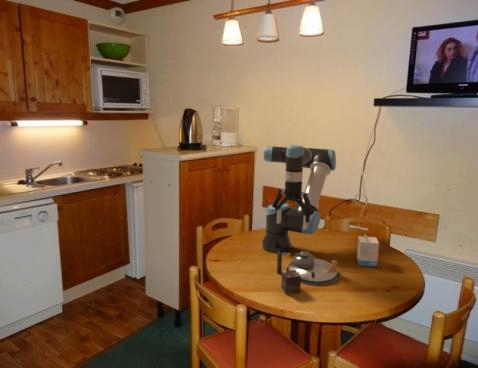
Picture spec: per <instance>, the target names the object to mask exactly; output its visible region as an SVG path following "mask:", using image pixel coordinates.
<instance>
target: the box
mask: <svg viewBox="0 0 478 368" xmlns="http://www.w3.org/2000/svg"><path fill="white" fill-rule="evenodd" d="M280 283H281V290H282V291H283V293H284V294H285V295H286V296H287V295H295V294H301V286H302V283H301V276H300V275H299V274H298V272H297V271H296V270H289V271H286V270H281V282H280Z"/></svg>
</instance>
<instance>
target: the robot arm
mask: <svg viewBox="0 0 478 368" xmlns="http://www.w3.org/2000/svg"><path fill="white" fill-rule="evenodd" d="M336 155H337V154H336V151H335V150H334V149H330V148H327V149H326V148H314V147H313V148H311V147H304V146H302V145H295V144H293V145H292V144H291V145H288V146H286V147H285V146H272V145H268V146H266V147H264V150H263V159H264V161H265V162H267V163H268V162H269V163H278V164H279V163H281V164H282V163H283V164H285V176H284V178H285V181H284V188H280V189H278V194H277V195H276V197H275V199H274V201H273V203H272V204H269V205H268V206H267V207H266V213H265V217H266V218H265V220H266V221H265V234H264V236H263V240H262V243H261V244H262V245H261V246H262V249H263V250H265V251H267V252H270V253H278V251H282V253H287V252H289V251H291V249H292V242H291V239H290V236H289V235H290V234H289V232H294V233H298V234H302V235H314V234H315V233H316V232H317V230H318V228H319V226H320V222H321V213H320V212H319V209H318V205H319V202H320V201H319V200H320V199H321V194H322V191H323V188H324V185H325V182H326V179H327V177H328V175H330V174H331V172H333V171H335V170H336V167H337V156H336ZM304 168H305V169H309V170H310V174H309V177H308V180H307V181H306V186H305V188H304V191H303V192H302V190H303V181H302V180H303V177H304V176H303V175H304V174H303V172H304V171H303V170H304ZM283 195H285V197H283ZM282 198H283V199H282ZM280 200H281V201H280ZM287 201H292V202H294V203H295V202H296V206H295V208H292V207H291V206H290V204H289V203H286V202H287Z"/></svg>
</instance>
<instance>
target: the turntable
mask: <svg viewBox="0 0 478 368" xmlns="http://www.w3.org/2000/svg"><path fill="white" fill-rule="evenodd" d="M288 266H289V270H296V271H297V272H298V274H299V275H300V276H301V280H302V281H306V282H311V283H325V282H329V281H332V280H334V279H335V278H336V277H337V271H338V268H337V266H338V261H337V260H335V259H331V262H329V261H326V260H324V259H320V258H314V267H313V268H311V269H300V268H297V267H295V266H294V259H293V260H291V261H290V262H289V264H288Z"/></svg>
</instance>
